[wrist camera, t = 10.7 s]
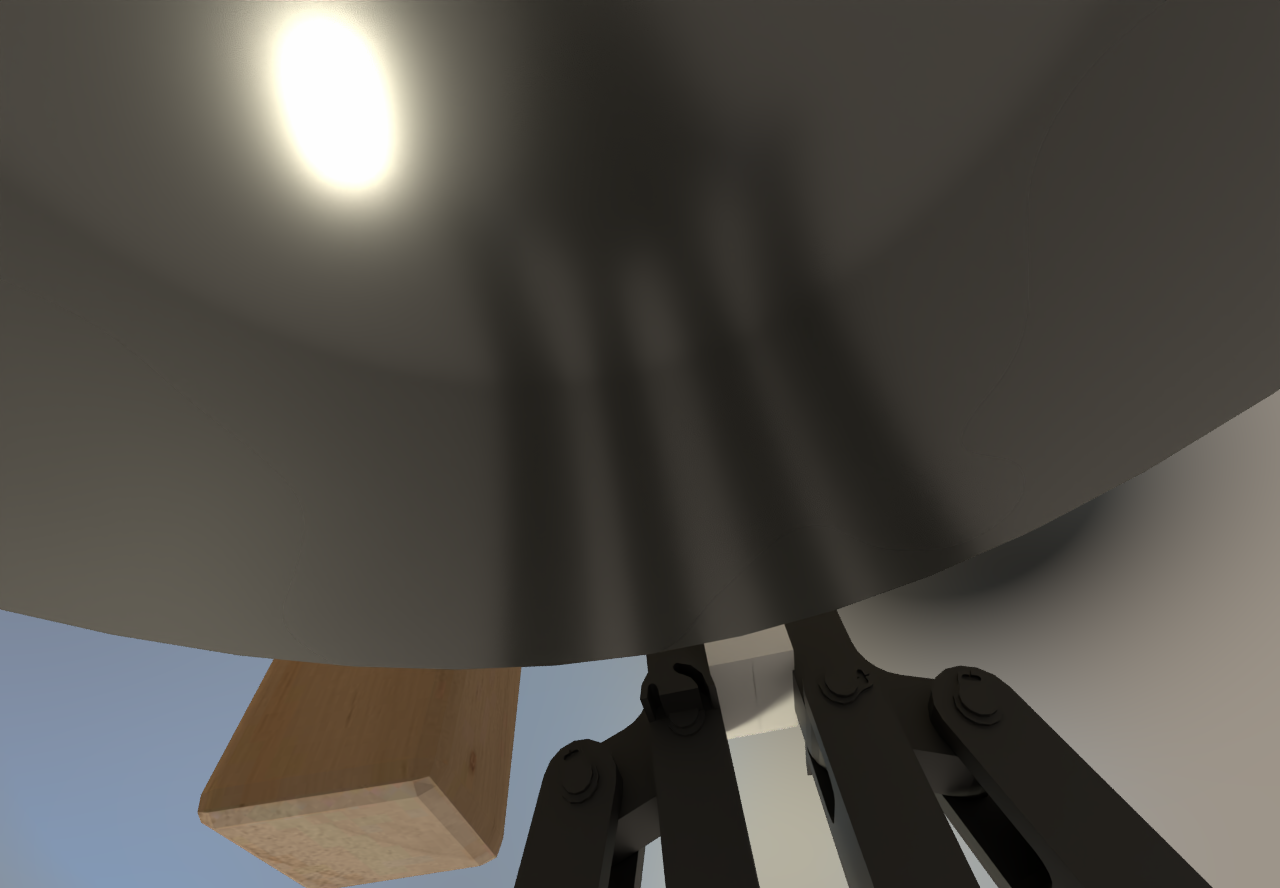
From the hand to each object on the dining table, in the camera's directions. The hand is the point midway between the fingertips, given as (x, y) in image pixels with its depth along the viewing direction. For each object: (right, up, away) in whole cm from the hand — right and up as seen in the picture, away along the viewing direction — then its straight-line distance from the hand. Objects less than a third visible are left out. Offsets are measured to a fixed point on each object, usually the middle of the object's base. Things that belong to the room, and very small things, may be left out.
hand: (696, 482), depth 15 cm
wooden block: (-16, -5, +24) cm, 29 cm away
